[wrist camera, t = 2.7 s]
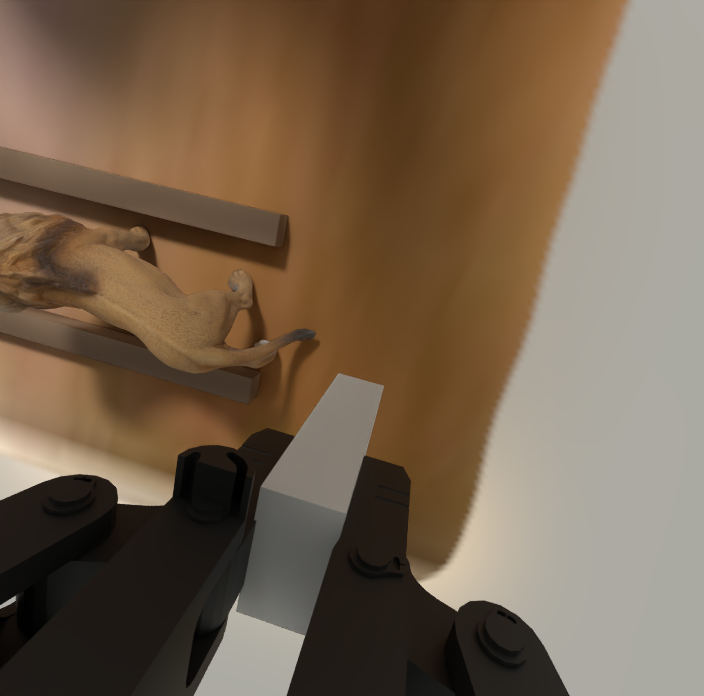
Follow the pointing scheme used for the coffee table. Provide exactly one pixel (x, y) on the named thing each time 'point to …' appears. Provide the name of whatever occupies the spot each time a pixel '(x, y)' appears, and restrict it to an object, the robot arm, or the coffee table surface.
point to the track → (150, 202)
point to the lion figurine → (125, 291)
